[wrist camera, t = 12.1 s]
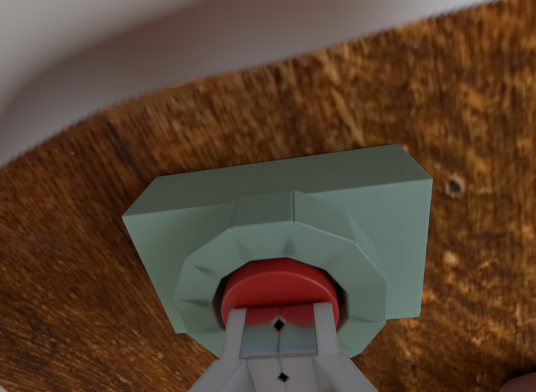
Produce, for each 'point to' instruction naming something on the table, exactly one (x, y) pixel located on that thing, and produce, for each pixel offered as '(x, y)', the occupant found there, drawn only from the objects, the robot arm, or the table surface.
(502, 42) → the table surface
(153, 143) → the table surface
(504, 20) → the table surface
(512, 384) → the apple
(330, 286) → the power button
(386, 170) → the control block
